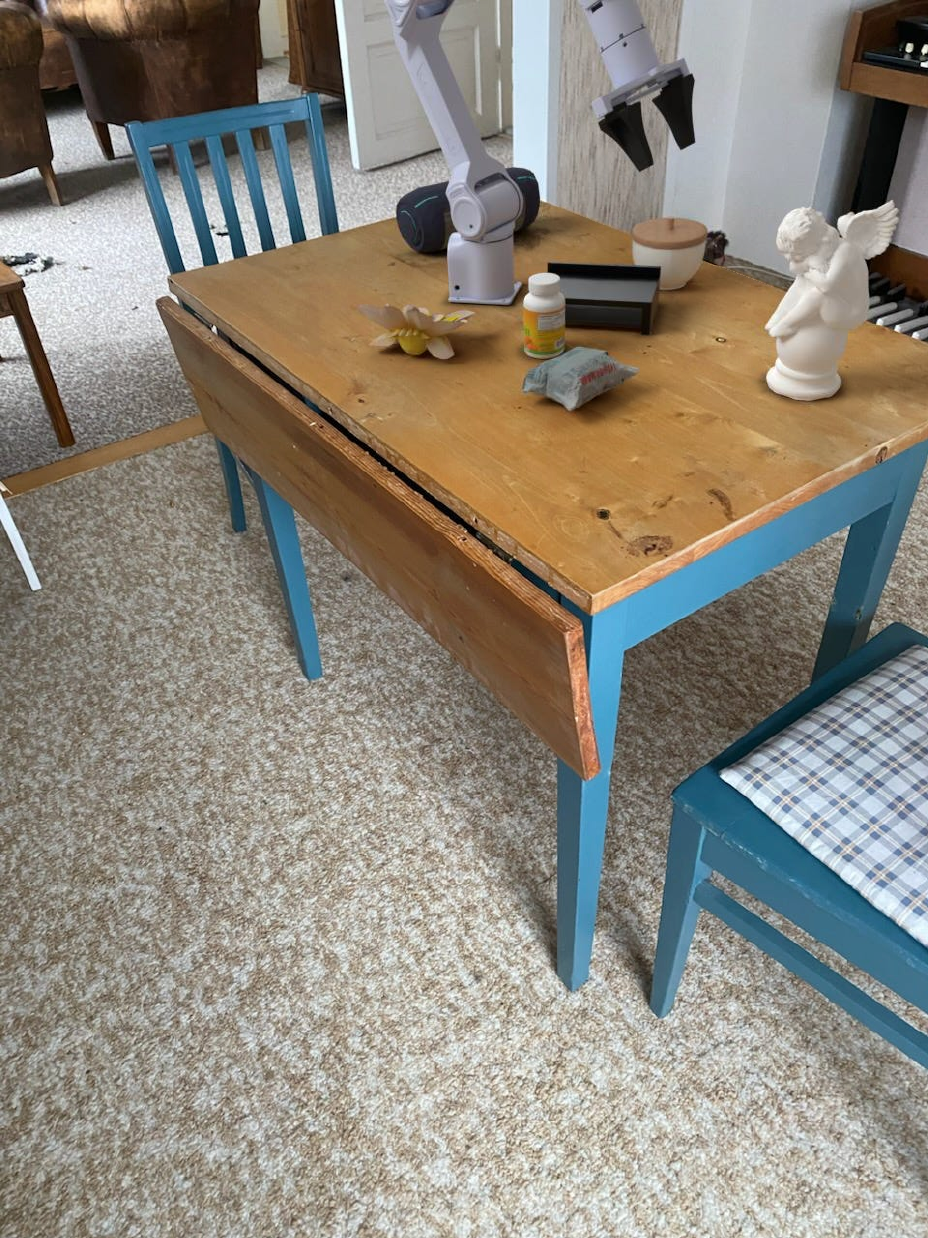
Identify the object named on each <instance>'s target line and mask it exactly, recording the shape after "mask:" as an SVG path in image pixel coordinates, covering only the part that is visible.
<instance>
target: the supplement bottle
mask: <svg viewBox="0 0 928 1238" xmlns="http://www.w3.org/2000/svg"><path fill="white" fill-rule="evenodd" d="M527 285H528V293H527V294H526V295H525V296H524V298H523V301H522V302H523V303H522V307H523V308H522V310H523V315H522V316H523V351H524V353H525V355H527V356H529V357H530V358H534V359H540V360H544V359H545V360H546V359H553V358H556V357H558V356H561V355H562V354H564V351H565V343H566V324H565V298H564V296H563V294H562V293H560V292H559V289H560V277H559V276H558V275H556V274H552V273H547V272H539V273H535V274H532V275H530V276H529V278H528V284H527Z"/></svg>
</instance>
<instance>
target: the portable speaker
mask: <svg viewBox="0 0 928 1238" xmlns="http://www.w3.org/2000/svg"><path fill="white" fill-rule="evenodd" d="M505 169H506V171H507V173H508V175H509V176H510V178H511V179H512V180H513V181H514V182H515V183H516V184H517V185H518V187H519V189H520V191H521V193H522V198H523V208H522V211H521V214H520V215H519V217H518V218H517V219H516V220H515V228H514V229H513V233H515V232H520V231H523V230H525V229H528V228H530V226H532V224H533V223H534V222H535V221H536V219H537V217H538V215H539V213H540V206H541V192H540V185H539V184H540V183H539V181H538V179H537V177H536V175H535V173H534V172H532V171H531V170H530V169H527V168H524V167H515V166H513V167H505ZM449 181H450V180H447V181H443V182H437V183H433V184H429V185H423V186H419V187H417V188H415V189H412V190H411V191H409V192H407V193H405V194H404V195H402V196H401V198H400V199H399V200H398V202H397V204H396V207H395V217H396V218H395V219H396V223H397V227H398V230H399V232H400V235H401V237H402V239H403V240H404V241H405V243H406V244H407V245H408V247H410V249H412V250H413V251H417V252H420V253H431V252H432V253H433V252H438V251H442V250H448V242H449V239H450V236H451V234H452V233H455V232H458V231H457V230H456V228H455V226H454V224H453V221H452V217H451V207H450V203H449V200H448V198H447V196H446V189H447V187H448V184H449ZM479 186H480V185H475V186H474V188H477V187H479Z"/></svg>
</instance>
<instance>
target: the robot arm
mask: <svg viewBox="0 0 928 1238" xmlns="http://www.w3.org/2000/svg"><path fill="white" fill-rule="evenodd" d="M455 1H456V0H383V3H384V5H385V8H386V10H387V12H388V14H389V16H390V21H391V28H392V34H393V39H394V43H395V46H396V48H397V51H398V53H399V55H400V58H401V60H402V63H403V65H404V66H405V69H406V72H407V74H408V76H409V78H410V81H411V83H412V85H413V88H414V90H415V93H416V95H417V97H418V99H419V101H420V103H421V106H422V108H423V110H424V112H425V115H426V117H427V119H428V122H429V124H430V126H431V129H432V132H433V133H434V136H435V138H436V141H437V143H438V144H439V148H440V149H441V151H442V154H443V156H444V159H445V161H446V163H447V165H448V167H449V170H450V172H451V175H450V179H449V180H448V181H449V184H448V187H447V189H446V196H447V198H448V200H449V203H450V207H451V217H452V221H453V224H454V226H455V228H456V230H457V231H458V232H455V233H452V234H451V236H450V239H449V242H448V248H447V249H446V250H447V252H446V253H447V254H446V260H447V261H446V262H447V274H448V289H449V292H448V293H449V297H448V302H450V303H463V304H482V305H499V306H502V305H503V306H510V305H511V304H512V303H513V301H514V299H515V298H516V297H517V294H518V293H519V291H520V289H521V288H522V286H523V283H522V282H521V281H515V255H514V254H515V253H514V252H515V250H514V247H515V245H514V232H513V229H514V228H515V220H516V219H517V218H518V217H519V215H520V214H521V211H522V208H523V198H522V193H521V191H520V189H519V187H518V185H517V184H516V183H515V182H514V181H513V180H512V179H511V178H510V176H509V175H508V173H507V171H506V169H505V168H506V166H505V165H504V164H503V163H502V162H500V161H499V160H498V159H496V158H494V157H493V156H490V155H489V154H488V153H487V149H486V147H485V145H484V143H483V141H482V138H481V136H480V134H479V131H478V128H477V126H476V124H475V122H474V119H473V117H472V114H471V112H470V110H469V107H468V105H467V103H466V99H465V98H464V95H463V93H462V91H461V87H460V86H459V84H458V81H457V79H456V77H455V73H454V72H453V70H452V67H451V65H450V63H449V59H448V58H447V55H446V53H445V50H444V48H443V46H442V43H441V40H440V34H441V30H442V27H443V24H444V22H445V21H446V18H447V16H448V15H449V12H450V11H451V9H452V7H453V5H454V3H455ZM577 1H578V3H579V6H580V8H582V9H583V12H584V14H585V15H584V16H585V17H586V19H587V23H588V25H589V27H590V30H591V33H592V35H593V38H594V41H595V43H596V46H597V49H598V51H599V53H600V56H601V58H602V61H603V64H604V66H605V69H606V71H607V74H608V77H609V79H610V82H611V85H612V87H613V90H610V91H609V92H607V93H605V94H603V95H601V96H599V97H598V98H595V100H593V101H591V102H590V105H591V107H592V110H593V113H594V115H595V118H596V120H599V121H598V123H597V124H598V127H599V129H600V131H601V132H603V133H604V134H605V135H607V136H608V137H609V138H610V139H612V140H613V141H614V142H615V143H616V144H617V145H618V146H619V147H620V148H621V150H622V151H623V152H624V153H625V155H626V156H627V157H628V159H629V160H630V161H631V163H632V164H633V165H634V167H635V168H636V170H637V171H638V172H639V173H641V172H642V171H645V170H647V169H648V168H650V167H652V166H654V165H655V162H654V157H653V154H652V153H653V152H652V150H651V147H650V145H649V141H648V138H647V135H646V131H645V127H644V121H643V113H642V102H641V101H640V99H643V98H644V97H646V96H648V95H650V94H652V93H654V92H657V91H659V93H660V94H658V95H657V96H655V97H653V98H652V99H651V102H652V103H653V105H654V106H655V107H656V108H657V110H658V111H659V113H660V114H661V115H662V117H663V118H664V120H665V122H666V123H667V125H668V128H669V130H670V132H671V134H672V137H673V139H674V141H675V143H676V146H677V147H678V149H679V150H680V151H683V150H685V149H687V148H688V147H690V146H692V145H694V144H696V135H695V127H694V126H695V125H694V116H693V97H694V88H695V82H696V79H695V77H694V74H693V73H690V70H689V67H688V64H687V61H686V59H685V57H682V58H680V59H677V60H674V61H672V62H669V63H666V62H664V63H662V64H661V62H660V60H659V56H658V54H657V52H656V49H655V47H654V44H653V41H652V39H651V35H650V33H649V29H648V27H647V25H646V22H645V19H644V17H643V14H642V11H641V8H640V6H639V3H638V1H637V0H577ZM645 87H646V88H647V89H646V90H643V91H641V92H639V93H637V92H638V91H640V90H641V89H644V88H645ZM636 93H637V94H636ZM637 100H638V101H637ZM603 117H604V118H603ZM600 119H601V120H600ZM475 185H480V186H479V187H477V188H474V186H475Z"/></svg>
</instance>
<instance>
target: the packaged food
mask: <svg viewBox="0 0 928 1238" xmlns="http://www.w3.org/2000/svg"><path fill="white" fill-rule="evenodd" d="M638 374H639V368H638V367H636V366H631V365H626V364H623V363H621V362H620V361H618V360H617V359H615V358H613V357H611V356H610V354H609V352H608V351H606V350H601V349H595V348H589V347H583V346H575V347H574V348H572V349H570V350H568V351H566V352H563V353H561V354H560V355H558V356H556V357H553V358H550V359H549V360H545V361H543V362H541V363H540V364H538V365H535V366H534V367H533V368H530V369H529V370H528V371H527V373H526V375H525V377H524V379H523V381H522V382H523V385H522V386H521V387H522V390H521V392H523V394H526V395H528V394H529V393H534V395H538V396H541V397H544V398H547V399H549V400H551V401H553V402H556V403H558V404H560V405H561V404H562V405H563V406H564V408H565V409H566V411H568V412H572V411H574V410H576V409H579V408H580V407H582V406H583V405H585V404H586V403H588V402H590V401H592V399H594V398H595V397H596V398H597V397H600V396H602V395H603V394H605V393H606V392H608V391H610V390H611V389H613V388H617V387H619V386H621V385H623V384H624V383H625V382H627V381H628V380H630V379H632V378H634V377H635V376H637V375H638Z"/></svg>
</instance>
